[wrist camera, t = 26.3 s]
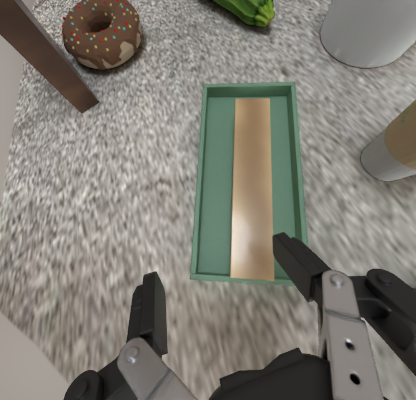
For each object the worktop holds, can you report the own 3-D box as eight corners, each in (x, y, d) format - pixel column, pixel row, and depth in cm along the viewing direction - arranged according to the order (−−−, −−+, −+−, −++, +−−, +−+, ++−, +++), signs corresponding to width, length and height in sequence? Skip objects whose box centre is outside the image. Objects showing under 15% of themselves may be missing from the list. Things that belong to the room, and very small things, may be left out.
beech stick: (229, 273, 23) (230, 277, 20) (233, 118, 29) (235, 98, 25) (265, 276, 23) (274, 281, 19) (263, 118, 28) (269, 98, 25)
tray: (301, 283, 23) (311, 287, 20) (193, 276, 24) (189, 279, 22) (288, 96, 30) (295, 81, 27) (205, 98, 31) (203, 83, 28)
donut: (161, 42, 35) (151, 9, 30) (103, 88, 33) (83, 61, 28) (115, 8, 38) (100, -27, 34) (60, 48, 37) (36, 17, 32)
